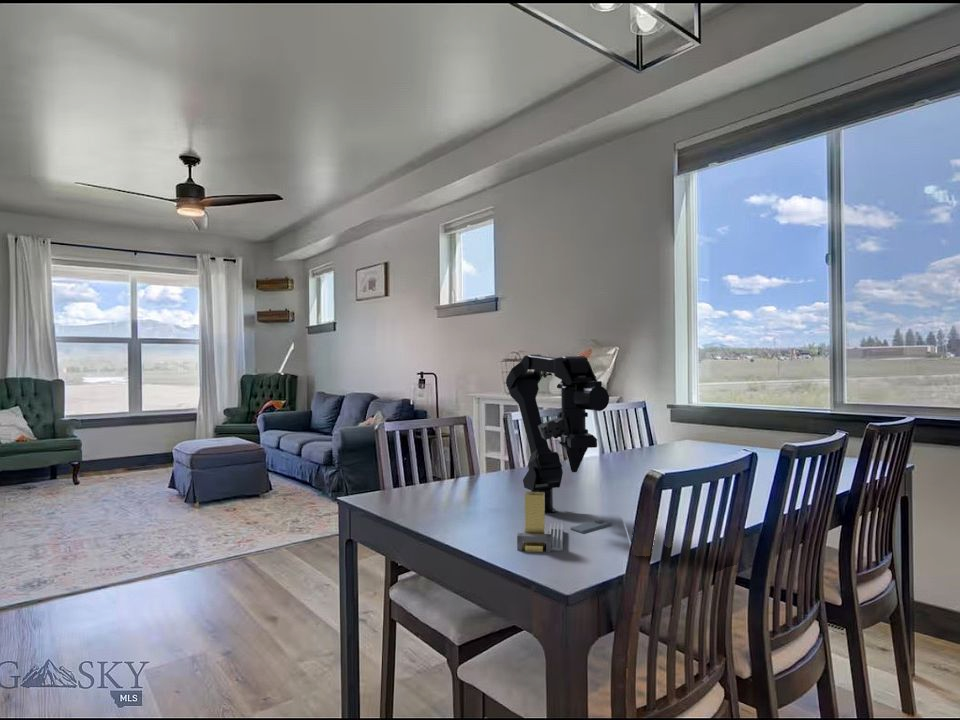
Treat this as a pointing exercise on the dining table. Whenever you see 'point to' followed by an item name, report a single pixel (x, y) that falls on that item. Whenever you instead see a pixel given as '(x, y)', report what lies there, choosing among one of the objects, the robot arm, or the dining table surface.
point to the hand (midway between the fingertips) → (574, 472)
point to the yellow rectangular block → (534, 519)
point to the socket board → (543, 539)
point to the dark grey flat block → (591, 526)
